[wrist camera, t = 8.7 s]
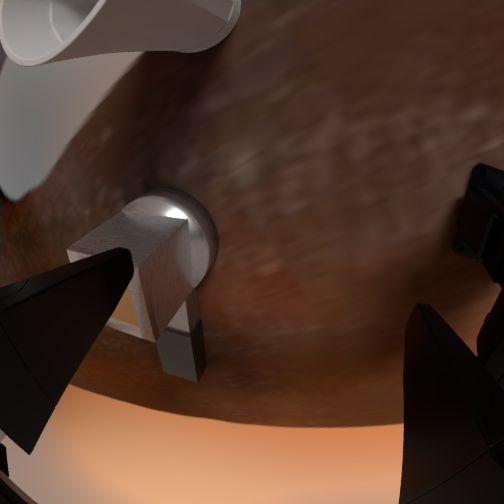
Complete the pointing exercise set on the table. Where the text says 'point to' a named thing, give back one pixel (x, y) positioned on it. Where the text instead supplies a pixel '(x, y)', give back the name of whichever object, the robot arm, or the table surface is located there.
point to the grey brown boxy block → (145, 268)
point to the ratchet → (203, 257)
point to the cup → (110, 27)
